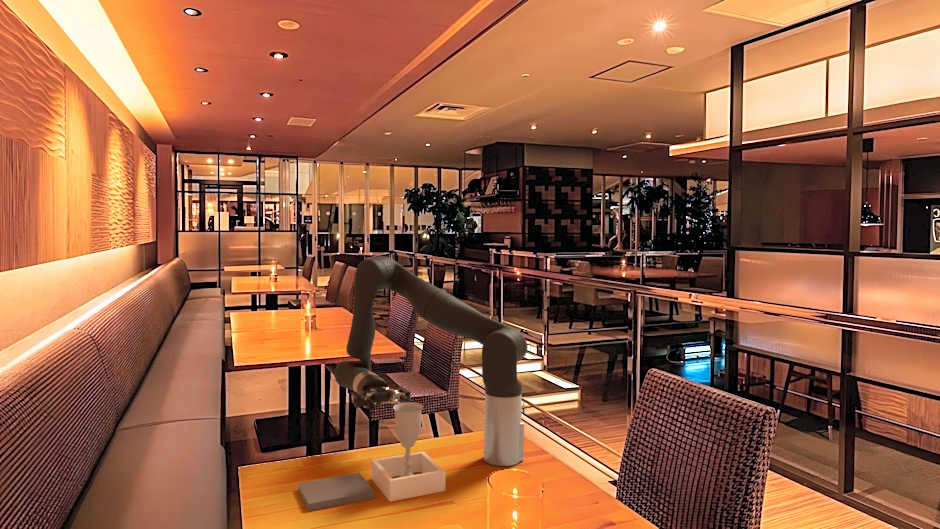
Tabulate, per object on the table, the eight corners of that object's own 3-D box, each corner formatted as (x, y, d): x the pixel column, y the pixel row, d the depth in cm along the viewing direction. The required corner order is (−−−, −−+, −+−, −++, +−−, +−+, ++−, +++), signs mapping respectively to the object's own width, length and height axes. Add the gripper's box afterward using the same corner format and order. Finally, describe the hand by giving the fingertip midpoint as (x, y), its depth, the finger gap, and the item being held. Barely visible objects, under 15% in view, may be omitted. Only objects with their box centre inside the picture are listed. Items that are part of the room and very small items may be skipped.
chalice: (417, 493, 134) (418, 412, 133) (388, 489, 135) (388, 410, 134) (426, 479, 141) (427, 403, 140) (398, 476, 143) (398, 401, 141)
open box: (423, 469, 147) (423, 451, 147) (445, 490, 135) (445, 471, 135) (371, 478, 141) (371, 459, 141) (389, 501, 130) (390, 481, 129)
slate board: (359, 479, 141) (359, 472, 141) (374, 498, 131) (374, 491, 131) (298, 489, 135) (297, 483, 135) (308, 511, 125) (308, 503, 125)
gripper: (344, 376, 159) (362, 392, 144) (395, 371, 165) (418, 387, 151) (343, 404, 159) (361, 423, 145) (395, 399, 166) (417, 417, 151)
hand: (390, 405), depth 148 cm, fingers open, 8 cm apart
